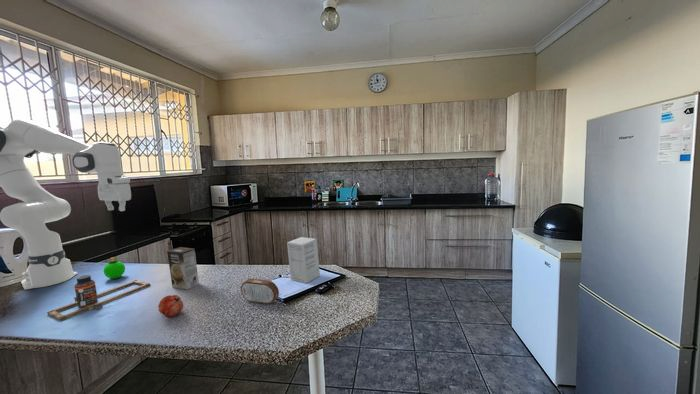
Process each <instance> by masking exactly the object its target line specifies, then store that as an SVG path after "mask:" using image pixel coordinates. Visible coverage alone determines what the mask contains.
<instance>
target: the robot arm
mask: <svg viewBox="0 0 700 394" xmlns="http://www.w3.org/2000/svg"><path fill="white" fill-rule="evenodd" d="M39 152H40V153H45V154H55V155H56V154H58V155H61V154H62V155H72V164H73V165H72V166H73V167H74V168H75V170H77V171H78V172H79V173H84V174H93V173H94V174H95V173H96V177H97V181H98V185H97V196H98V199H99V201H104V204H105V205H106V207H107V211H114V210H115V206H114V205H113V203H112V202H113V201H114V202H118V204H119V205H118V211H120V212H124V211H126V203H127V202H126V201H130V200H132V191H131V185H130V183H131V178H130V177H128V176H127V175H125V174H124V171H123V169H122V167H121V165H122V157H121V153H120V151H119V148H118V145H117V144H116V143H113V142H109V141H95V142H94V143H92V145H91V144H89V143H86V142H83V141H80V140H77V139H75V138H73V137H71V136H68V135H65V134H63V133H61V132H59V131H57V130H54V129H52V128H51V127H48V126H46V125H43V124H42V123H38V122H35V121H33V120H30V119H24V118H19V119H15V120H13V121H11V122H10V123H9V124H8V126H7V128H6V129H0V187H1V189H2V190H3V192H4V194H6V195H7V196H9V197H10V198H13V199H17V200H20V201H22V202H17V203H14V204H11V205H8V206H5V207H3V208H2V209H1V210H0V222H1V223H2V224H3V225H4V226H6V227H7V228H9V229H13V230H15V231H17V232H18V233H19V234H20V235H21V236H22V238H23V240H24V241H25V243H26V247H27V251H28V259H27V260H28V264H29V265H28V266H27V269H26V270H25V271H24V272H22V273H21V276H22V278H23V279H22V280H21V283H20V284H21V285H22V288H23V290H30V289H37V288H45V287H49V286H53V285H58V284H61V283H63V282H67V281H69V280H70V279H72V278H73V277H75V276H77V275H78V272H77V271H74V270H73V266H72V262H71V259H68V258H67V257H66V252H65V249H63V245H62V240H61V236H60V233H58V232H56V231H53V230H50V229H49V228H48V227H47V226H46V223H52V222H57V221H59V220H62V219H64V218H66V217H68V216H69V215H70V214H71V211H72V207H71V204H70V203H69V202H68V201H67V200H66V199H63V198H60V197H57V196H56V195H54V194H52V193H50V192H49V191H47V190H46V189H45V188H44V187H43V186H42V185H40V183H39V182H38V180H37V179H36V178H35V176H34V175H33V174H32V172H31V171H30V169H29V168H28V166H27V165H26V163H25V161H24V159H25V158H28V159H30V158H32V157H33V156H34V155H35V154H37V153H39ZM24 278H25V279H24Z"/></svg>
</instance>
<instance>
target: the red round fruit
mask: <svg viewBox="0 0 700 394" xmlns="http://www.w3.org/2000/svg"><path fill="white" fill-rule="evenodd" d="M184 305H185V303H184V301H183V300H182V298H181V297H180V296H179V295H177V294H174V295H173V294H172V295H171V294H170V295H166V296H164V297H163V298H161V300H160V301H159V303H158V306H157V308H158V311H159V313H160V314H161V315H162V316H164V317H165V318H172V317H174V316H176V315H177V314H179V313H181V312H182V310H183V309H184Z"/></svg>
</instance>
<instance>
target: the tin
mask: <svg viewBox="0 0 700 394" xmlns="http://www.w3.org/2000/svg"><path fill="white" fill-rule="evenodd" d="M240 291H241V295H242V297H243V298H244V299H245V300H246V301H248V302H252V303H257V304H258V303H259V304H264V305H269V304H270V305H271V304H272V303H274V302H275V301H276V300H277V299H278V298H279V296H280V292H279V291H280V290H279V288H278V286H277V285H276V283H274V282H273V281H272V280H268V279H260V278H248V279H246V280H245V281H243V283H241V286H240Z"/></svg>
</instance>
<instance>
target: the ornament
mask: <svg viewBox="0 0 700 394" xmlns="http://www.w3.org/2000/svg"><path fill="white" fill-rule="evenodd" d="M102 272H103V275H104V276H105V277H106V278H109V279H112V280H113V279H117V278H120V277H122V275H124V273H125V272H126V267H125V264H124V263H123V262H121V261H118V260H116V259H115V257H110V262H108V263H107V264H106V265H104V268H103V270H102Z"/></svg>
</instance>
